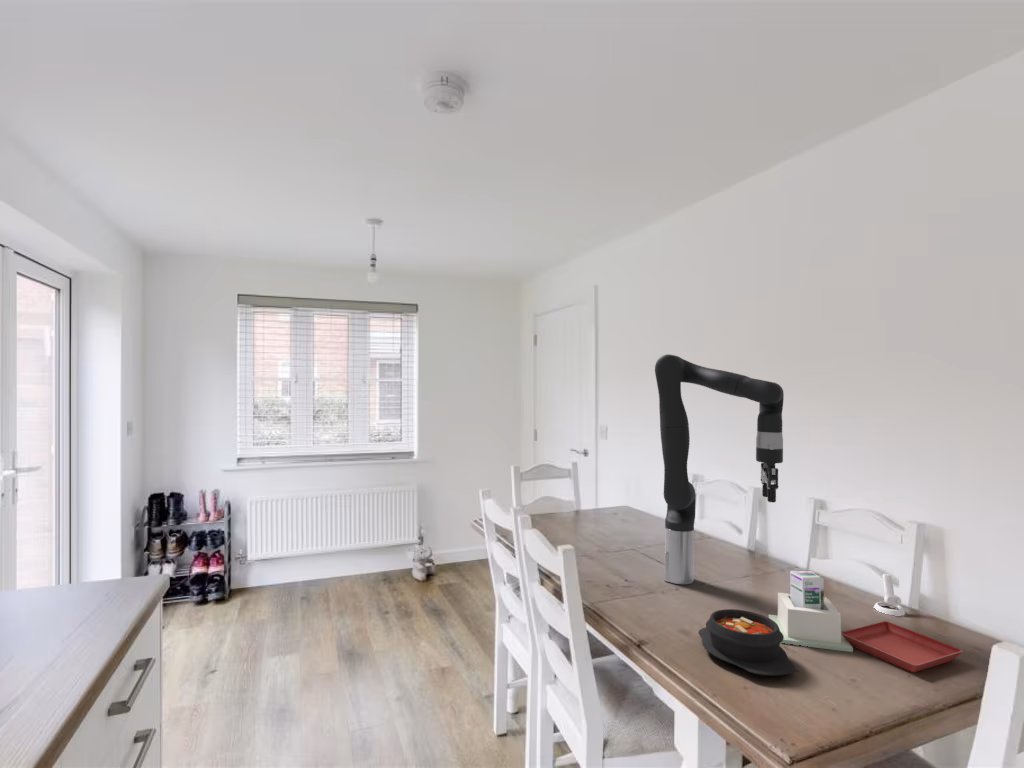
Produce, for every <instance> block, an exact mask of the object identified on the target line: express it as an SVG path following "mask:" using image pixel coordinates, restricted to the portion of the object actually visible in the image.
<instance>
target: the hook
mask: <svg viewBox="0 0 1024 768" xmlns="http://www.w3.org/2000/svg"><path fill="white" fill-rule="evenodd" d="M882 582H883V583H882V584H883V590H884V599H883V601H877V602H876V603H875V604H874V606H873V608H875V609H876V610H877V611H879V612H882V613H885V614H889V615H895V616H901V615H904V614H906V612H905V609H904V608H903V607H902V606H900V605H901V603H902V600H901V598H900V596H898V595H896V594H895V592H894V591H895V590H894V585H893V584H894V583H893V578H892V575H891V574H887V573H883V574H882ZM880 605H885V606H892V607H894V608H897V609H899V610H897V609H893V608H888V607H881V606H880ZM877 611H876V612H877ZM879 612H878V613H879ZM885 614H884V615H885ZM889 615H888V616H889ZM895 616H894V617H895Z"/></svg>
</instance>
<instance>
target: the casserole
mask: <svg viewBox="0 0 1024 768" xmlns="http://www.w3.org/2000/svg"><path fill="white" fill-rule="evenodd" d="M697 632H698V635H699V636H700V638H701V643H702V647H704V649H705V650H706V651H707V652H708V653H709V654H711V655H712V656H714V657H715V658H717V659H718V660H721V661H722V662H723V661H724V662H726V663H728V664H732V665H733V666H736V667H738V668H740V669H743V670H744V671H746V672H748V673H750V674H754V675H758V676H769V677H771V676H772V677H773V676H775V677H776V676H784V675H788V674H791V673H793V672H795V671H796V665H794V664H793V662H792V661H791V660H790V658H789V656H788V655H787V652H786V651H785V650H784V649H783V647H781V644H782V643H781V642H782V641H783V639H784V636H783V634H782V633H781V632H780V630H779V627H778V625H777V623H776V622H774V621H773V620H772V619H770V618H768V616H766V615H763V614H760V613H757V612H755V611H754V612H753V611H750V610H749V611H748V610H743V609H733V608H732V609H731V608H730V609H729V608H728V609H727V608H726V609H719V610H715V611H714V612H713V611H712V613H711V614H710V617H709V619H708V620H706V622H705V627H702V628H700V629H699V630H698V631H697Z"/></svg>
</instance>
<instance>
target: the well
mask: <svg viewBox="0 0 1024 768" xmlns="http://www.w3.org/2000/svg"><path fill="white" fill-rule="evenodd" d="M790 594H791V593H786V592H777V614H768V616H767V617H768V618H770V619H772V620H773V621H774V622H776V623H777V625H778V627H779V630H780V632H781V633H782V634H783V636H784V639H783V641H782V642H781V643H780V644H782V643H785V644H784V645H790V644H793V646H799V645H801V646H800V647H807V646H808V648H816V649H817V648H818V649H826V650H833V651H842V652H848V653H853V652H854V647H853V646H852V645H851V644H850V643H849V642H848V641H847V640H846V639H845V638H844V637H843V636H842V634H841V632H842V613H840V611H838V609H837V608H836V606H835V605H834V604H833V603H832V602H831V600H830V599H829V598H828V597H826V596H824V610H819V609H809V608H800V607H794V605H793V604H792V602H791V596H790Z"/></svg>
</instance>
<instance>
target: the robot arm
mask: <svg viewBox="0 0 1024 768" xmlns="http://www.w3.org/2000/svg"><path fill="white" fill-rule="evenodd" d="M654 374H655V380H656V385H657V390H658V401H659V403H658V405H659V407H658V408H659V427H660V441H661V450H662V451H661V453H662V458H663V459H662V460H663V467H664V470H663V471H664V472H663V474H664V478H663V499H664V501H665V503H666V505H667V506H666V508H667V509H666V516H665V520H664V531H665V532H664V581H665V582H666V583H667V582H668V583H671V584H676V585H692V584H693V583H694V579H695V578H694V577H695V576H694V573H695V571H694V570H695V569H694V567H695V566H694V565H695V564H694V560H695V559H694V558H695V555H694V554H695V553H694V550H695V535H694V534H695V520H696V499H697V497H696V490H695V489H696V488H695V487H694V485H693V484H692V483H691V481H689V476H688V474H689V473H688V459H689V451H690V425H689V420H688V419H689V418H688V414H687V411H686V408H685V405H684V402H683V399H682V389H681V388H682V387H681V386H682V383H688V384H694V385H698V386H702V387H704V388H708V389H711V390H713V391H715V392H719V393H722V394H726V395H730V396H734V397H737V398H744V399H747V400H750V401H754V402H755V403H759V408H758V409H759V413H758V415H757V420H756V421H757V423H756V425H757V426H756V427H757V428H756V438H755V439H756V441H755V443H756V444H755V461H756V462H757V463H760V482H761V485H762V486H761V487H762V488H761V489H762V497H763V498H766V499H767V501H768V503H776V502H777V490H778V489H779V468H778V467H777V468H776V464H782V463H783V462H784V437H783V407H784V396H785V395H784V393H785V392H784V389H783V388H782V386H781V385H780V384H779V383H777V382H773V381H768V380H763V379H759V378H758V379H757V378H754V377H753V378H752V377H750V376H747V375H744V374H739V373H736V372H732V371H727V370H721V369H720V370H719V369H715V368H710V367H706V366H701V365H698V364H696V363H692V362H691V361H689V360H686V359H683V358H682V357H680V356H677V355H674V354H667V353H666V354H663V355H661V356H660V357H658V359H657V361H656V362H655V364H654Z"/></svg>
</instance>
